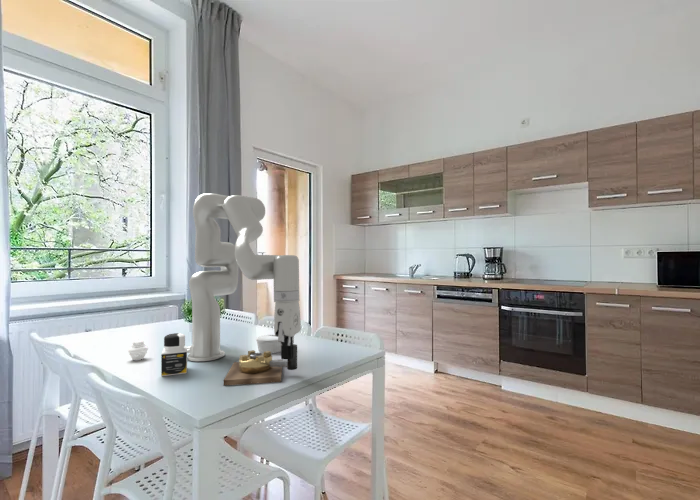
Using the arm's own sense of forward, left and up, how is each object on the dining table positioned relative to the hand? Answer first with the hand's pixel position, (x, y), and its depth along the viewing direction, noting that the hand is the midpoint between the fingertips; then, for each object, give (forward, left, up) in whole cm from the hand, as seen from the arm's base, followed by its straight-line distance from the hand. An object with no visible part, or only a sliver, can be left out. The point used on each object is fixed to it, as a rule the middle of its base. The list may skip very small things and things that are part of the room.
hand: (287, 358), depth 105 cm
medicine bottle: (-36, +14, -7) cm, 39 cm away
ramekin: (-7, +35, -7) cm, 37 cm away
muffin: (-54, +32, -7) cm, 63 cm away
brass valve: (-6, +6, -4) cm, 10 cm away
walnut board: (-10, +7, -6) cm, 14 cm away
